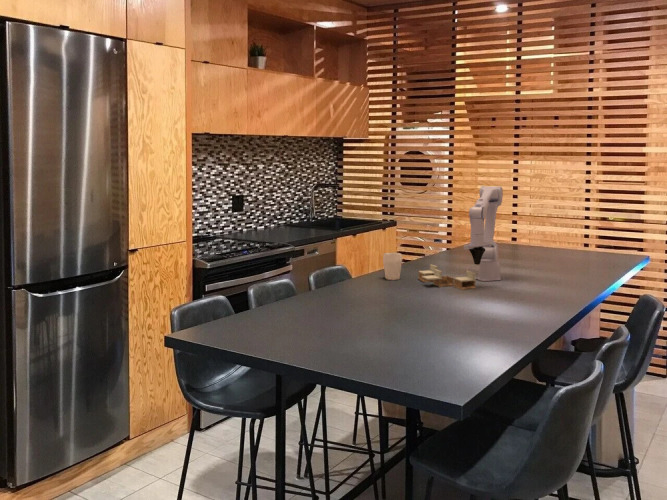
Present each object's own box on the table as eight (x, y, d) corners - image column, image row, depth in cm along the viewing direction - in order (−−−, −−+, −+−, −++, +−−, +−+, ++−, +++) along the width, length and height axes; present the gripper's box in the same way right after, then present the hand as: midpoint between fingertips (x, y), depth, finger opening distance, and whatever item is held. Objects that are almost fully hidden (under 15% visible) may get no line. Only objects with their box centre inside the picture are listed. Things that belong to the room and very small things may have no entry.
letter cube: (428, 279, 317) (428, 273, 317) (432, 280, 315) (432, 274, 314) (423, 280, 316) (423, 274, 316) (427, 281, 313) (427, 275, 313)
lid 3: (468, 278, 300) (468, 270, 299) (475, 280, 293) (475, 272, 293) (454, 279, 298) (454, 271, 298) (460, 281, 292) (461, 273, 291)
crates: (447, 277, 321) (447, 270, 321) (475, 288, 294) (475, 280, 293) (418, 279, 318) (418, 272, 317) (443, 290, 290) (443, 283, 290)
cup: (401, 280, 316) (400, 255, 314) (382, 280, 318) (381, 255, 316) (403, 277, 325) (402, 252, 323) (384, 276, 327) (384, 252, 325)
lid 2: (435, 276, 306) (435, 269, 305) (442, 278, 299) (442, 271, 299) (421, 277, 304) (421, 269, 303) (427, 279, 297) (427, 272, 297)
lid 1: (431, 271, 319) (431, 264, 319) (437, 273, 312) (437, 266, 312) (418, 272, 317) (418, 265, 317) (424, 274, 311) (424, 267, 310)
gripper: (482, 231, 303) (482, 261, 305) (458, 234, 295) (458, 264, 297) (494, 233, 297) (493, 263, 299) (470, 235, 289) (470, 266, 291)
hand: (477, 264), depth 298 cm, fingers closed
